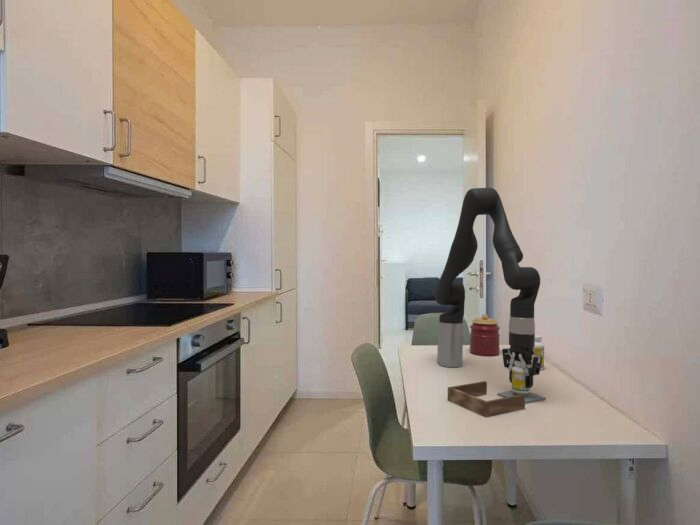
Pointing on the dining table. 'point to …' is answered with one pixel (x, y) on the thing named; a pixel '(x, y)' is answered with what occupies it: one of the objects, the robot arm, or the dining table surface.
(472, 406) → the cubby
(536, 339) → the supplement bottle
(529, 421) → the dining table surface
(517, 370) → the supplement bottle
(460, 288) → the robot arm
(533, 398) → the mat
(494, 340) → the canister
